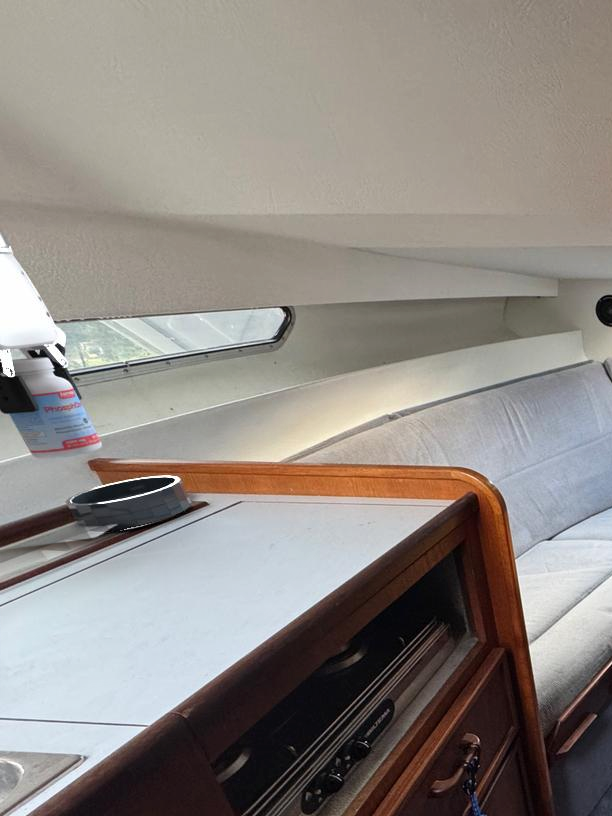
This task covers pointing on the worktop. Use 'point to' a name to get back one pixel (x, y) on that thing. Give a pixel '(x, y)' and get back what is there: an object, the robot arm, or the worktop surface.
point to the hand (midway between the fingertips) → (44, 405)
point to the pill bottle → (53, 414)
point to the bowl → (130, 502)
